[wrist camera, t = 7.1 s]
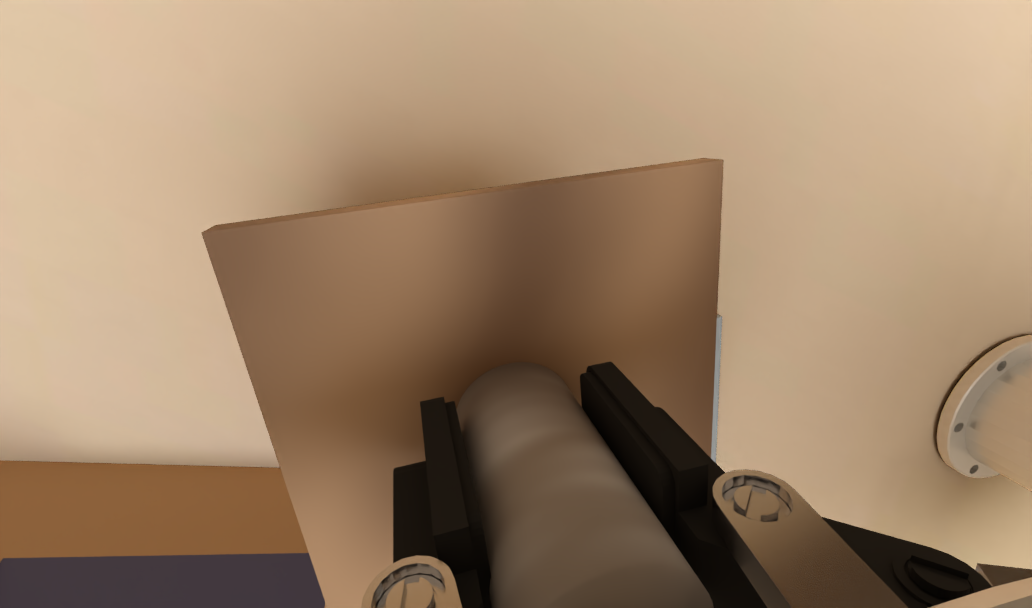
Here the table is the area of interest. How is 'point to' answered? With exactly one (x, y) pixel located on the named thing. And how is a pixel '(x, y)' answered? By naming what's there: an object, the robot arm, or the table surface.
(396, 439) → the lid
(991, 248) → the table surface
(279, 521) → the toy building blocks
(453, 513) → the robot arm
